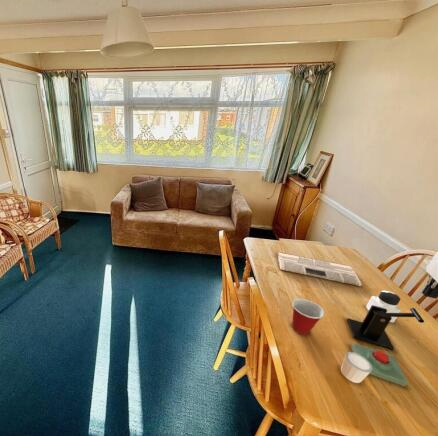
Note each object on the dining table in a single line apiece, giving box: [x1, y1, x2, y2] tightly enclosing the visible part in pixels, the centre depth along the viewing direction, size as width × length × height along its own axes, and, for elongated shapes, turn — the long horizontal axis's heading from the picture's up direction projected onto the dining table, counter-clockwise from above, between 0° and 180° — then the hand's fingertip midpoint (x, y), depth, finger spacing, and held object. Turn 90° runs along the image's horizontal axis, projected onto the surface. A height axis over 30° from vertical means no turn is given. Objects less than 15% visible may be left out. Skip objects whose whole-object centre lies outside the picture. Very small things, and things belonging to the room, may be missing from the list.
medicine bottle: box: [365, 290, 402, 323], centre depth 100 cm, size 7×7×12 cm
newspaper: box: [277, 252, 362, 287], centre depth 132 cm, size 37×19×3 cm, turn 68°
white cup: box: [340, 351, 372, 384], centre depth 77 cm, size 7×7×7 cm
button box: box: [350, 342, 409, 387], centre depth 81 cm, size 12×10×4 cm
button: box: [373, 350, 389, 364], centre depth 80 cm, size 4×4×2 cm
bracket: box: [346, 305, 395, 351], centre depth 91 cm, size 12×10×13 cm
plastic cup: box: [291, 298, 325, 335], centre depth 93 cm, size 11×11×12 cm
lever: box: [373, 307, 425, 324], centre depth 86 cm, size 12×6×2 cm, turn 63°
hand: (428, 295), depth 80 cm, fingers closed
